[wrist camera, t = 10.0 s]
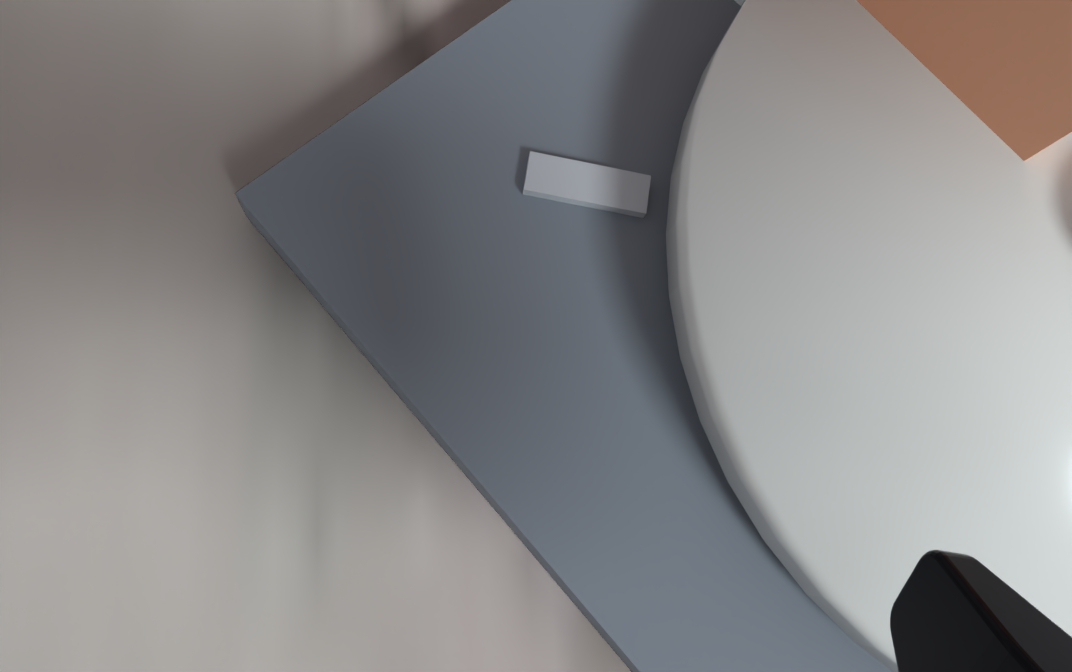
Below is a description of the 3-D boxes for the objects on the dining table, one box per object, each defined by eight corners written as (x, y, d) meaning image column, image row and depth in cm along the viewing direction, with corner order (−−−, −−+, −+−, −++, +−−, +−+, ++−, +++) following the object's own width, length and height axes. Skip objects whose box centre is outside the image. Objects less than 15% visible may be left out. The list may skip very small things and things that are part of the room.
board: (1109, 1236, 15) (1179, 1306, 14) (246, 216, 17) (231, 188, 16) (1684, 369, 21) (1773, 358, 20) (995, -315, 23) (1033, -370, 22)
